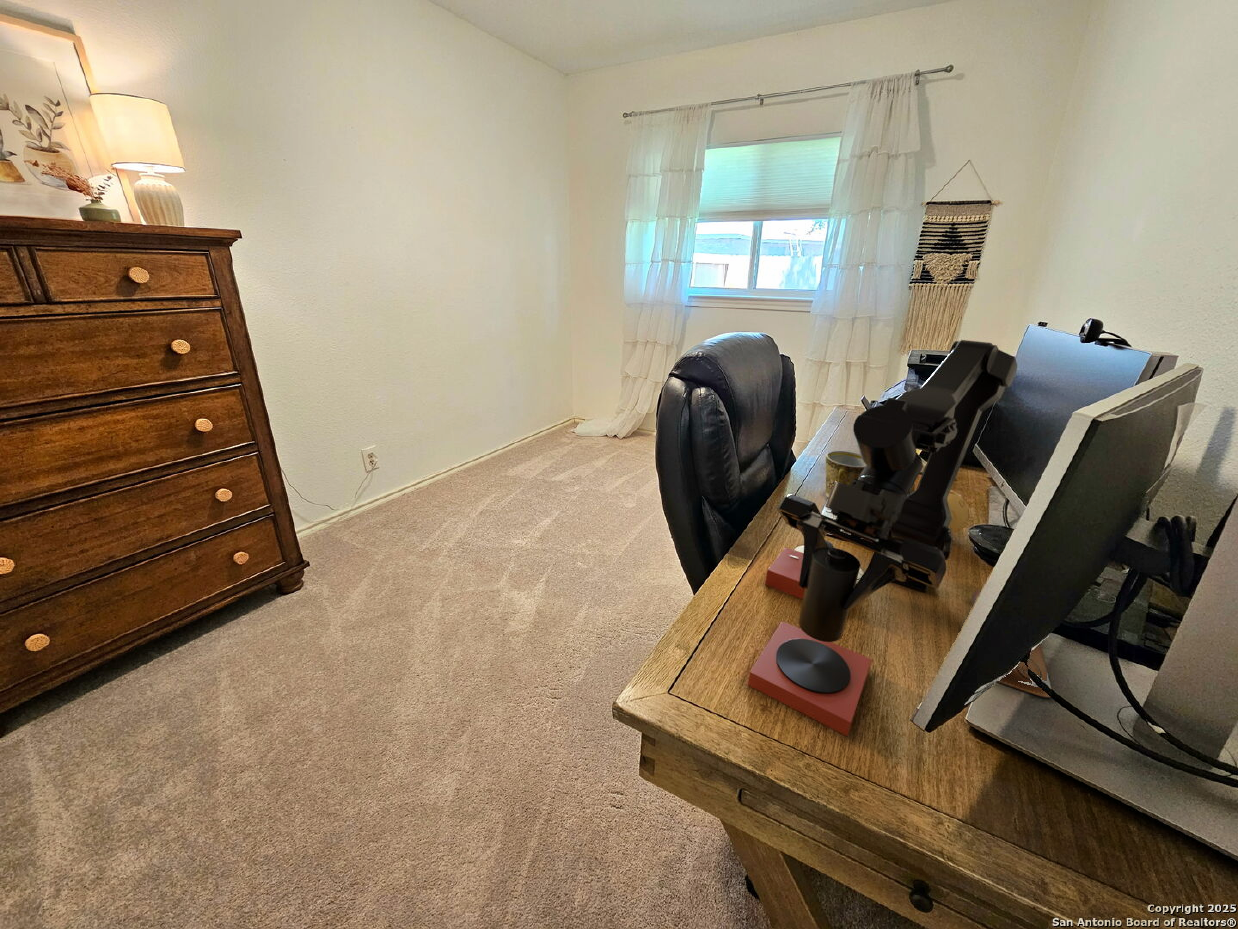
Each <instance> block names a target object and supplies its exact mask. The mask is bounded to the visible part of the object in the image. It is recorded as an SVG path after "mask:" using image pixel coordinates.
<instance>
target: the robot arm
mask: <svg viewBox="0 0 1238 929" xmlns="http://www.w3.org/2000/svg"><path fill="white" fill-rule="evenodd" d="M1017 370H1018V362H1017V359H1016V357H1015V356H1013V355H1011V354H1009V353H1008V352H1005V351H1003V350H1000V349H999V347H998V344H997V345H996V344H993V343H992V342H987V341H978V340H977V341H976V340H968V339H961V340H955V341H954V342H953V344H952V345H951V347H950V350H949V351H948V355H947V357H945V359H944V360H942V362H941V363H940V365H939V366H938V367H936V369H935V370H934V372H933V373H932V374H931V375H930V377H929V378H928V379H927V380H926V381H925V382H924V383H923V385H922V386H921V387H919V388H915V389H912V390H908V391H904V392H903V393H901V394H900V395H899V396H898V397H896V398H893V397H888V398H887V399H886V401H885V403H884V404H881V405H877V406H873V407H870V408H868V409H866V410H865V411H863V412H862V413H861V414H859V415H857V416H856V418H855V420H854V423H853V426H852V427H853V428H852V429H853V430H852V431H853V434H854V439H855V442H856V444H857V447H858V450H859V454H861V457H862V460H863V461H864V463H865V464H866V466H865V468H864V469H863V471H862V473H861V475H860V477H859V478H858V479H854V481H852V483H851V484H850V486H847V485H844V484H841V483H838V482H835V483H834V485H833V488H832V490H831V493H830V495H829V498H828V497H827V501H826V502H825V507H824V508H827V509H829V510H830V512H831V514H832V516H835V517H836V518H835V519H834V518H832V517H830V516H827V515H824V514H822V513H821V511H820V509H819V508H818V506H817V504H816V503H815V502H813V501H811V500H808V499H805V498H803V497H800V496H798V495H795V494H792V493H790V494H788V495H786V496H785V497H783V498H781V499H780V502H779V503H778V505H777V507H776V510H777V512H778V513H779V515H780V517H781V518H782V519H783V521H784V523H785V524H786V525H788V526H789V527H791V528H793V529H795V530H797V531H800V533H801V534H802V536H803V552H802V553H803V560H802V567H801V573H800V580H799V586H800V588H802V589H804V588H805V586H806V582H807V577H808V572H809V567H810V562H811V557H812V553H813V551H814V550H815V549H818V548H821V547H828V544H827V543H826V541H825V540H826V539H825V538H826V536H828V535H830V536H833V537H836V538H839V539H841V540H844V541H845V542H848V543H851V544H853V545H856V546H858V547H861V548H863V549H865V550H867V551H871V552H873V553H872V556H871V557H870V561H869V564H868V565H867V567H866V569H865V571H864V572H863V574H862V575H861V577H860V578H859V580H857V582H856V585H855V587H854V589H853V590H852V592H851V593H850V595H849V597H848V599H847V601H846V603H845V605H844V610H845V611H847V612H848V611H849V612H850V611H851V610H852V609H854V608H855V607H857V605H859V604H861V603H862V602H863V601H864V600H866V598H868V597H869V596H871V595H872V594H873V593H875V592H877V591H878V590H879V589H881V588H883V587H886V585H888V584H890V583H891V582H892V583H896V584H898V585H900V586H904V587H907V588H910V589H913V590H916V591H919V592H922V593H927V591H928V588H929V587H930V588H933V589H939V587H940V585H941V583H942V581H943V579H944V578H945V575H946V572H947V563H946V561H948V560H949V558H950V556H951V553H952V549H953V534H952V532H951V528H949V525H950V522H951V519H952V516H951V512H950V508H949V505H948V501H947V498H948V495H949V493H950V490H952V488H953V485H954V483H955V480H956V478H957V475H958V473H959V470H960V467H961V465H962V463H963V460H964V458H965V456H966V454H967V450H968V447H969V446H970V443H971V440H972V438H973V435H974V433H975V430H976V428H977V425H978V423H979V420H980V418H981V416H982V414H983V412H985V411H986V410H987V409H989V408H990V407H992V406H993V405H994V404H996V403H997V402H998V401H1000V399H1001V398H1002V397H1003V393H1004V392H1005V389H1006V388H1010V387H1011V385H1012V384H1013V381H1014V379H1015V377H1016V374H1017ZM917 450H920V451H922V452H927V453H930V454H929V456H928V458H927V460H926V461H927V462H926V464H925V466H924V463H923V460H922V457H921V456H920V454H919V453H917ZM923 468H924V470H923V471H922V469H923ZM921 472H922V474H921V477H920V479H919V482H918V484H917V487H916V488H915V490H913V491H912V489H913V486H914V485H915V483H916V481H917V479H918V477H919V475H920V473H921ZM911 491H912V492H911ZM910 492H911V493H910Z"/></svg>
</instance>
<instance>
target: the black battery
mask: <svg viewBox="0 0 1238 929" xmlns="http://www.w3.org/2000/svg"><path fill="white" fill-rule="evenodd" d="M860 569H861V562H860V560H859V559H858V557H857V556H855V555H854V554H852V553H850V552H848V551H846V550H844V549H842V548H837V547H834V548H832V547H821V548H818V549H815V550H814V551H813V553H812V557H811V562H810V567H809V572H808V577H807V582H806V587H805V592H804V596H803V599H802V602H801V607H800V612H799V616H798V626H799V629H802V631H803V632H804V633H806V634H807V635H808V636H810V637H812V638H814V639H816V640H819V641H824V642H832V643H835V642H837V641H839V640H841V639H842V638H843V636H844V632H845V628H846V624H847V621H848V616H849V613H850V611H848V612H847V611H845V610H844V605H845V603H846V601H847V599H848V597H849V595H850V593H851V592H852V590H853V589H854V587H855V586H856V584H857V582H858V578H859V574H860Z"/></svg>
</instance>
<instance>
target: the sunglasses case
mask: <svg viewBox="0 0 1238 929" xmlns="http://www.w3.org/2000/svg"><path fill="white" fill-rule="evenodd" d="M981 589H982V588H981ZM981 589H978V590H976V591H975V592H974V593H973V594H972V595H971V604H972V605H971V606H972V607H973V605H974V603H975V600H976V598H977V596H978V595H979V593H980V592H981ZM1027 665H1028V667H1027V666H1026V665H1025V663H1024V662H1020V663H1019V664H1018V666H1017V667H1016V668H1015V669H1013V670H1012V672H1011V673H1010V674H1008V675H1006V677H1004V678H1002V679H1001V680H1000V681H998V682H997V683H998V684H1001V685H1003V686H1004V687H1005V686H1006V687H1009V688H1011V689H1014V690H1017V691H1021V692H1023V693H1027V694H1030V695H1034V696H1036V697H1037V696H1038V697H1041V698H1045V699H1052V698H1051V697H1050V696H1049V695H1048V694H1047V693H1046V692H1045V691H1043V690H1042V688H1039V687H1034V686H1031V685H1027V684H1024V683H1021V682H1018V681H1023V682H1029V683H1031V684H1032V681H1031V680H1030V676H1029V675H1028V669H1030V670H1031V671H1032V672H1034V673H1035V674H1036V675H1038V676H1039V677H1040V678H1042V680H1044V681H1047V671H1048V668H1046V667H1047V663H1046V661H1045V657H1044V653H1043V648H1042V644H1041V643H1040V644H1039V645H1038V646H1037V647H1036V648H1035V649H1034V650H1032V651H1031V654H1030V659H1029V660H1028V662H1027ZM1051 688H1052V689H1053V686H1052V684H1051Z"/></svg>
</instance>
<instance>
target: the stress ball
mask: <svg viewBox="0 0 1238 929" xmlns="http://www.w3.org/2000/svg"><path fill="white" fill-rule="evenodd" d="M947 501H948V505H949V508H950V512H951V516H952V519H951V522H950V525H949V528H951V532H952V535H954V534H956V533H958V532H961V531H963V530H964V529H965V527H966V524H967V522H968V520H969V519H970V507H969V506H968V504H967V502H966V499H965V498H964V497H963V496H962V494H959V493H958V492H956V491H955V490H953V489H951V490H950V493H949V495H948V498H947Z"/></svg>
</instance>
